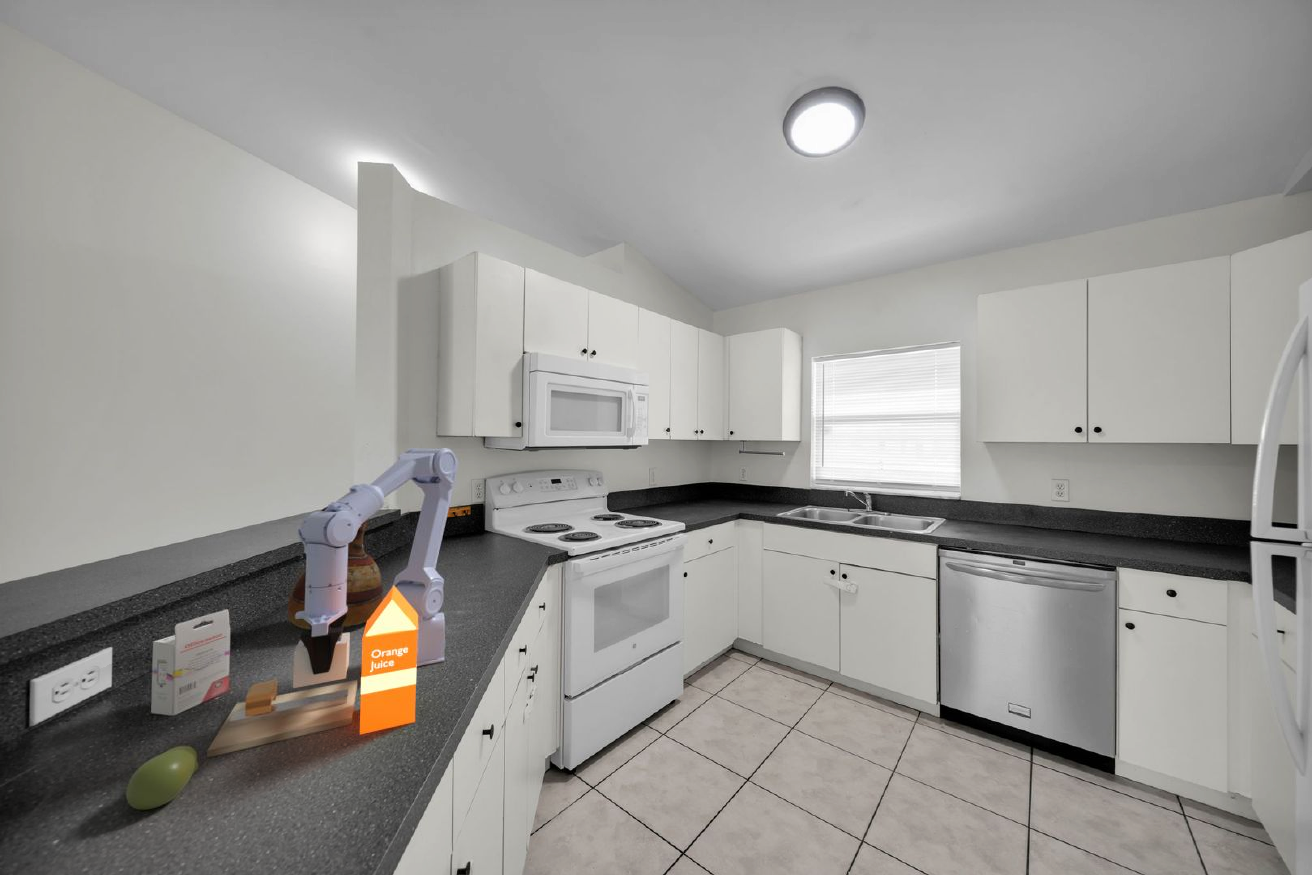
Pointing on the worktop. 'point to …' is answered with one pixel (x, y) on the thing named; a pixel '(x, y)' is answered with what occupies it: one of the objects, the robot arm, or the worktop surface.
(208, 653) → the ink cartridge box
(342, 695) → the steel rail
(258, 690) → the block
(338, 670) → the block
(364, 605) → the ceramic pitcher
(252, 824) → the worktop surface
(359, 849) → the worktop surface
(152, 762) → the olive green oval piece
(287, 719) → the mounting board
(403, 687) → the orange juice
